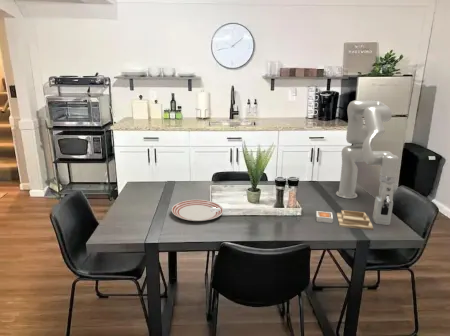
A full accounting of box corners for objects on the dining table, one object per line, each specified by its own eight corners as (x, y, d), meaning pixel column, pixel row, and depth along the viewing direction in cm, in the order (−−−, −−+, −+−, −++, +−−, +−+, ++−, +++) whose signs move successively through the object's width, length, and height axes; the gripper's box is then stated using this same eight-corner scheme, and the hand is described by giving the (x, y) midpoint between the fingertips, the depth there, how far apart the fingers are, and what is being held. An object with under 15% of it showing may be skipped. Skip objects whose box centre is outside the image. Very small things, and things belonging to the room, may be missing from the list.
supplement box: (390, 225, 184) (393, 202, 181) (374, 223, 186) (378, 200, 182) (386, 219, 191) (390, 197, 188) (372, 218, 193) (375, 195, 189)
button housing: (315, 215, 195) (316, 210, 194) (331, 216, 193) (331, 212, 192) (316, 221, 187) (317, 216, 186) (332, 223, 186) (333, 218, 185)
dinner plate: (233, 214, 194) (234, 208, 193) (196, 230, 174) (196, 223, 173) (198, 201, 212) (198, 196, 211) (160, 214, 192) (160, 208, 191)
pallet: (336, 214, 196) (337, 208, 195) (367, 217, 193) (368, 211, 192) (339, 226, 181) (340, 220, 180) (373, 230, 178) (374, 223, 177)
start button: (319, 215, 193) (319, 211, 192) (328, 216, 192) (329, 212, 191) (319, 219, 188) (319, 215, 187) (329, 220, 187) (329, 216, 186)
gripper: (399, 184, 173) (394, 219, 178) (391, 174, 190) (386, 206, 195) (383, 183, 175) (378, 217, 179) (376, 173, 191) (371, 204, 196)
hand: (382, 211), depth 187 cm, fingers closed on supplement box, 7 cm apart
